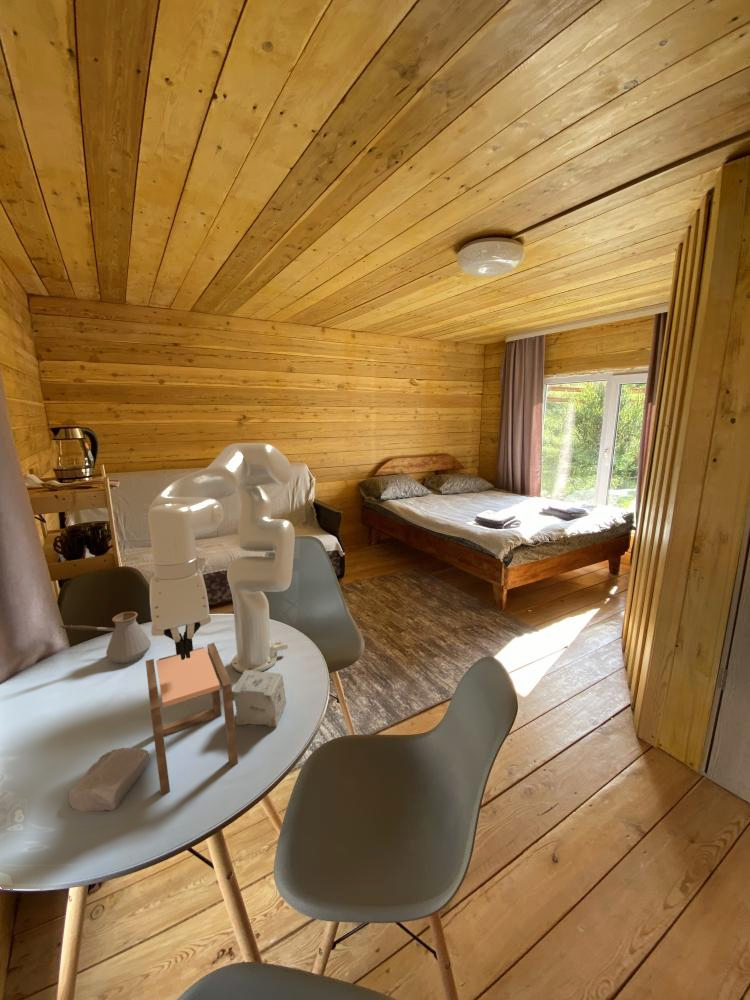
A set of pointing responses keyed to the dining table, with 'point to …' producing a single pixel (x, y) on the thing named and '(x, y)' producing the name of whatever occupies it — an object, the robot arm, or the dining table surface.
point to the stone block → (109, 780)
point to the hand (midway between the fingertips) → (185, 655)
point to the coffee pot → (122, 638)
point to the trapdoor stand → (194, 719)
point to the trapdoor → (186, 676)
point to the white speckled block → (259, 698)
